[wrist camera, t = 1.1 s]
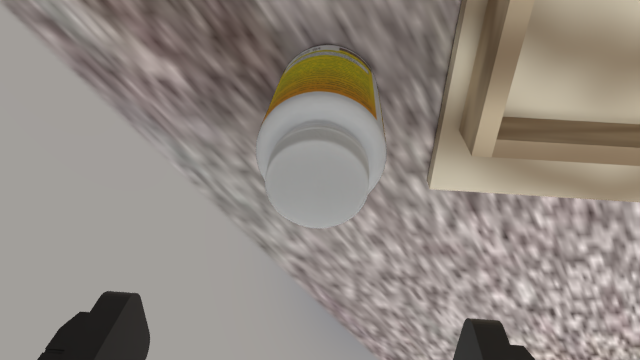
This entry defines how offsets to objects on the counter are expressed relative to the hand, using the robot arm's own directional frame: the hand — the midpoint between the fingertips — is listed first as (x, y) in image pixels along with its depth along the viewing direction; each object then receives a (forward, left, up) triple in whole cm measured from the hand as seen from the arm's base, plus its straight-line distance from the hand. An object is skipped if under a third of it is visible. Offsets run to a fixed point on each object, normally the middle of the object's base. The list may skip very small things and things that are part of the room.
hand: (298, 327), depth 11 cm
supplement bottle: (0, 0, -17) cm, 17 cm away
